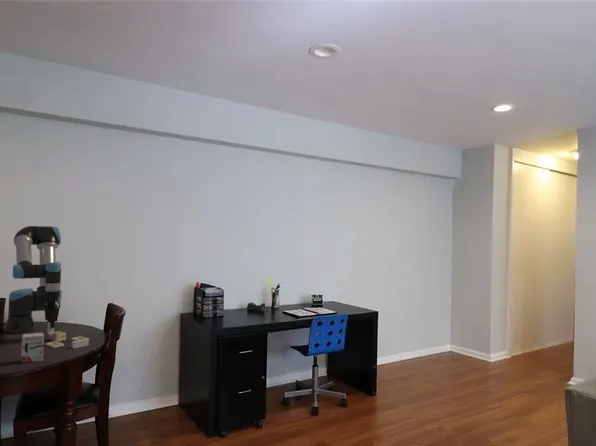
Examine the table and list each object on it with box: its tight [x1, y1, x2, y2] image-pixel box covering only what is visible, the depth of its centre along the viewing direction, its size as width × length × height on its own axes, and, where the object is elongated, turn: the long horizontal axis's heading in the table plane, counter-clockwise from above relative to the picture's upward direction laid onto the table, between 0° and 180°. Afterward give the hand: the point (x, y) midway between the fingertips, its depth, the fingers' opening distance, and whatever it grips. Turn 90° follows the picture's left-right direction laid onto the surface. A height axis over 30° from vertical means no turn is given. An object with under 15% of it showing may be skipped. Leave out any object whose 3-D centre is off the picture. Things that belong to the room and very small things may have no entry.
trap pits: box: [45, 335, 89, 349], centre depth 237 cm, size 8×19×1 cm, turn 148°
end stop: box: [71, 338, 90, 349], centre depth 231 cm, size 2×8×3 cm, turn 148°
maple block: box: [49, 330, 67, 342], centre depth 242 cm, size 6×5×4 cm
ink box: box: [20, 332, 45, 363], centre depth 206 cm, size 8×5×12 cm, turn 123°
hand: (50, 333), depth 245 cm, fingers closed
